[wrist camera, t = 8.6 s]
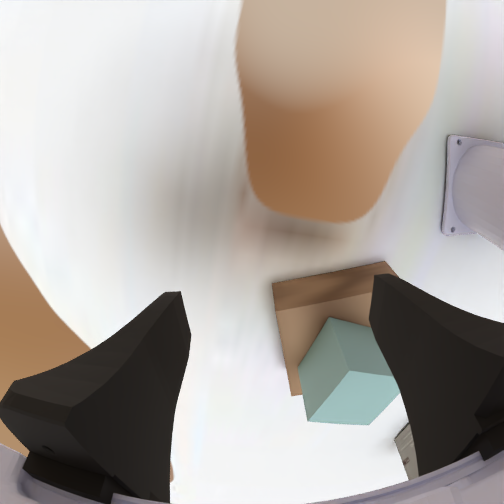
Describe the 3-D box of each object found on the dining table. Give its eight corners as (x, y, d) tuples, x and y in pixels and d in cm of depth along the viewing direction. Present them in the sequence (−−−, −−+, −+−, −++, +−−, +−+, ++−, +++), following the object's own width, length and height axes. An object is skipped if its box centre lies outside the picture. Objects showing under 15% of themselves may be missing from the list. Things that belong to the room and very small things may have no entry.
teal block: (385, 331, 20) (412, 378, 15) (351, 377, 22) (368, 425, 17) (329, 316, 19) (349, 370, 15) (297, 367, 21) (307, 421, 16)
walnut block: (383, 259, 22) (404, 284, 18) (379, 343, 26) (394, 372, 22) (271, 281, 23) (275, 311, 19) (287, 363, 26) (291, 396, 23)
